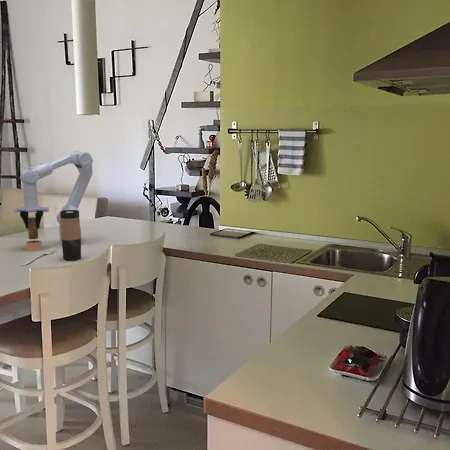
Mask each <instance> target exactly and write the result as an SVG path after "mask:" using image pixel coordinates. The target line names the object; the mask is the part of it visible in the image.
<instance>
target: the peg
mask: <svg viewBox="0 0 450 450" xmlns="http://www.w3.org/2000/svg"><path fill="white" fill-rule="evenodd" d="M27 222H28V229H27V232H28V233H27V234H28V240H37V239H38V240H39V229H37V227H36V217H28V218H27Z"/></svg>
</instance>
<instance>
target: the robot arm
mask: <svg viewBox="0 0 450 450" xmlns="http://www.w3.org/2000/svg"><path fill="white" fill-rule="evenodd" d="M93 159H94V158H93V157H92V155H91V154H90V153H89V152H88V151H79V150H76V151H73V152H70V153H66V154H65V155H63V156H62V157H59V158H58V159H56V160H54V161H51V162H46V161H45V162H44V161H42V162H39V164H38V165H35V166H30V167H29V169H26V170H25V169H24V170H23V171H22V172H21V173H20V176H19V179H20V181H21V182H22V195H23V206H22V207H21V206H20V207H14V208H13V213H19V216H20V218H21V219H22V221H23V223H24V227H25V229H26V230H28V222H27V218H29V213H34V216H35V218H36V227H37V229H38V230H39V229H40V227H41V221H42V218H43V215H44V213H49V212H50V207H49V206H39V200H38V198H39V197H38V186H37V182H38V181H39V180H41V179H43V178H45V177H47V176H49V175H52V173H53V172H54V170H56V169H59V168H61V167H63V166H66V165H68V164H72V165H74V166H75V167H76V169H77V170H78V173H79V174H78V177H77V179H76V181H75V184H74V185H73V188H72V190H71V193H70V195H69V197H68V200H67V202H66V204H65V205H64V206H63V207H62V208H61V210H60V211H59V212H58V213H57V215H56V221H57V223H58V229H59V231H58V232H59V245H58V246H57V247H60V248H62V239H61V220H60V212H61V211H64V210H78V211H79V209H78V208H79V206H80V204H81V201H82V199H83V197H84V194H85V192H86V190H87V188H88V186H89V184H90V180H91V178H92V176H93V161H94V160H93ZM80 234H81V235H82V228H81V227H80ZM82 239H83V238H81V244H82V243H83V241H82Z"/></svg>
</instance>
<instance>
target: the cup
mask: <svg viewBox="0 0 450 450" xmlns="http://www.w3.org/2000/svg"><path fill="white" fill-rule="evenodd" d="M42 242H43V241H42V240H39V239H38V240H37V239H32V240H27V241H26V242H25V246H26V248H25V249H26V251H28V252H37V251H41V250H42V249H43V245H42Z"/></svg>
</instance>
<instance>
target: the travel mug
mask: <svg viewBox="0 0 450 450" xmlns="http://www.w3.org/2000/svg"><path fill="white" fill-rule="evenodd" d="M60 211H61V210H60ZM60 211H59V212H60ZM60 220H61V239H62V247H61V249H62V258H63V260H64V261H65V262H75V261H79V260H82V243H81V239H82V233H81V234H80V228H81V222H80V220H81V219H80V211H79V209H78V210H64V211H61V212H60Z"/></svg>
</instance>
